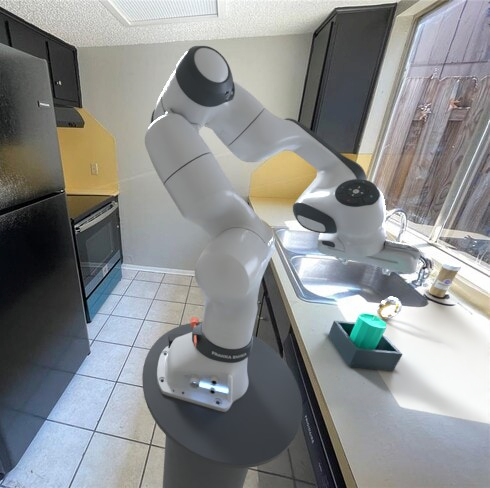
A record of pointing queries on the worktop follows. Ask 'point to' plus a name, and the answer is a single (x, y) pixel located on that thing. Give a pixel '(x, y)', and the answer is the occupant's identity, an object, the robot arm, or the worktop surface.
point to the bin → (363, 358)
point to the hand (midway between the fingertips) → (364, 267)
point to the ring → (393, 301)
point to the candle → (367, 331)
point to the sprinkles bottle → (444, 279)
